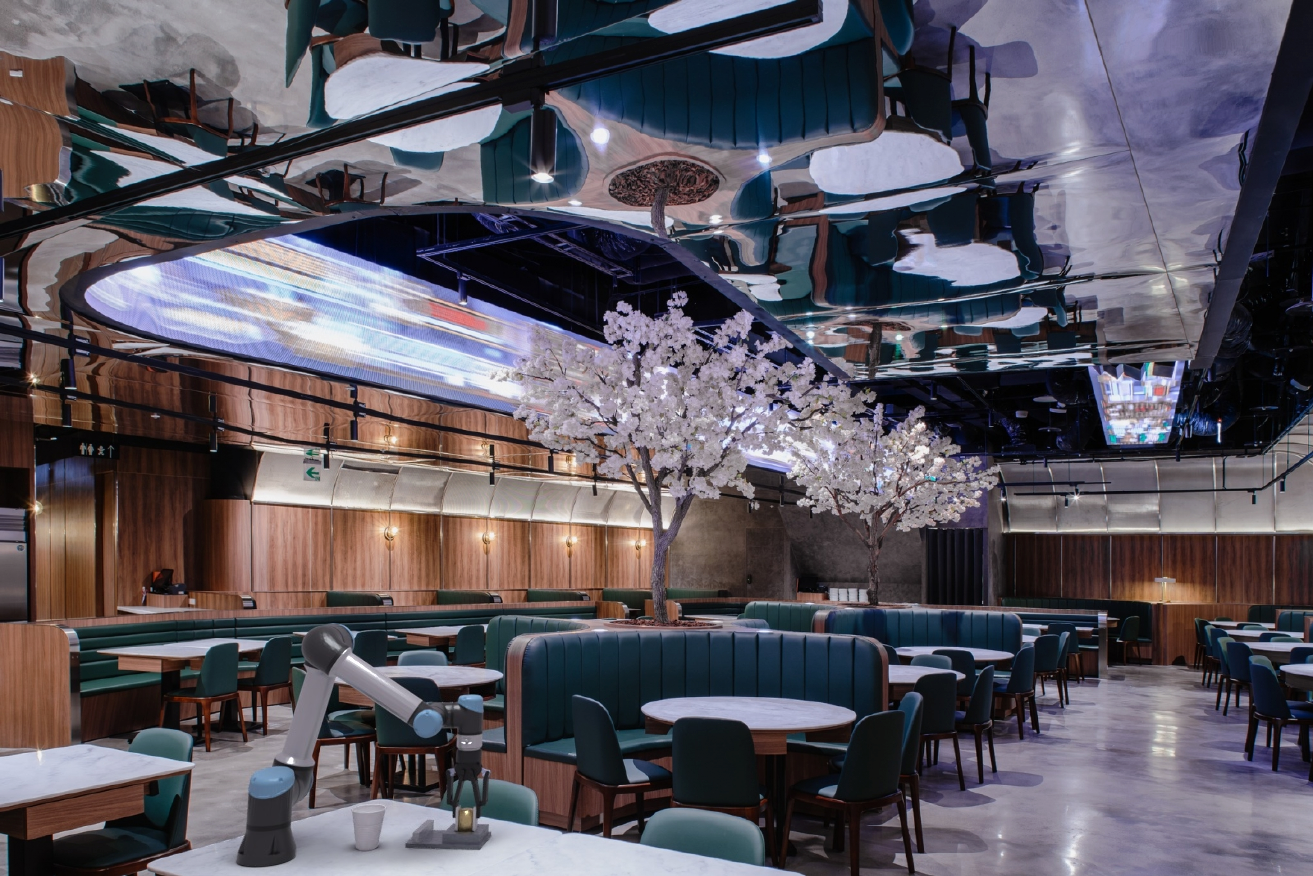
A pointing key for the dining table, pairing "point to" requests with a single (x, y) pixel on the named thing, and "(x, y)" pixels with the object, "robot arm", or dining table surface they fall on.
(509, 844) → the dining table surface
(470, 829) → the cylinder
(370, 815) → the cup
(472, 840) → the jig
